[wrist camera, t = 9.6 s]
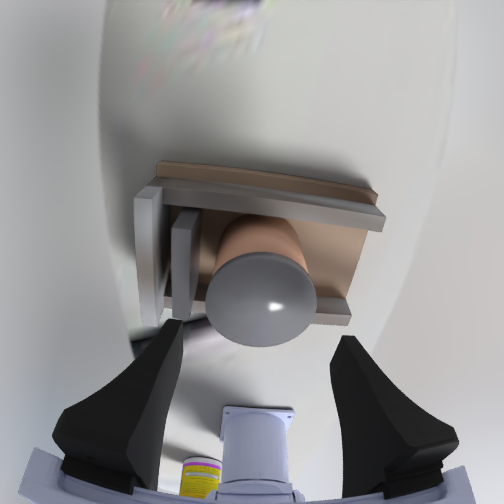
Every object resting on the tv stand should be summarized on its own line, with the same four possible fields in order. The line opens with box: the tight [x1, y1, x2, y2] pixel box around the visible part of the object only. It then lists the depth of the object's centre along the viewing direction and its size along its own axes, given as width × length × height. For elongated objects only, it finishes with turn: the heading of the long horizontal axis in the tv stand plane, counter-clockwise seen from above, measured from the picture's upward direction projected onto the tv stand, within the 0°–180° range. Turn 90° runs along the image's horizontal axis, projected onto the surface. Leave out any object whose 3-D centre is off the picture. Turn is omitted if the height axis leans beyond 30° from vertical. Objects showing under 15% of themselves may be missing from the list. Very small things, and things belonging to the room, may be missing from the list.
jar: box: [205, 214, 317, 347], centre depth 18 cm, size 6×6×6 cm
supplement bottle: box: [179, 457, 222, 499], centre depth 35 cm, size 7×7×13 cm
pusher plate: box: [171, 206, 203, 320], centre depth 18 cm, size 6×1×4 cm, turn 173°
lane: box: [133, 161, 386, 327], centre depth 19 cm, size 10×14×5 cm
